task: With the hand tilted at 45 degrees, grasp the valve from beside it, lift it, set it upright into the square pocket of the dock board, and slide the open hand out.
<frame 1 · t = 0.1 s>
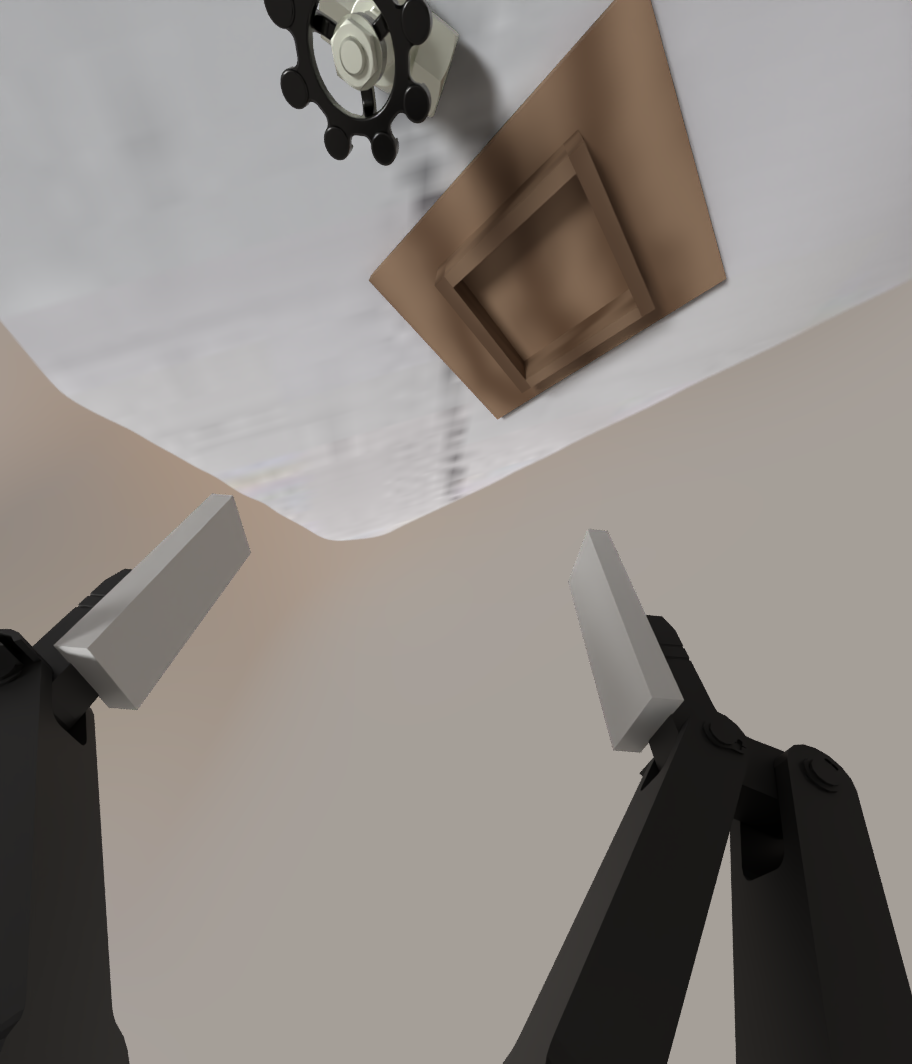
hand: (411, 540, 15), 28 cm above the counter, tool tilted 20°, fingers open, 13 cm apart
dock board: (542, 274, 32), on the counter
valve: (396, 31, 22), on the counter
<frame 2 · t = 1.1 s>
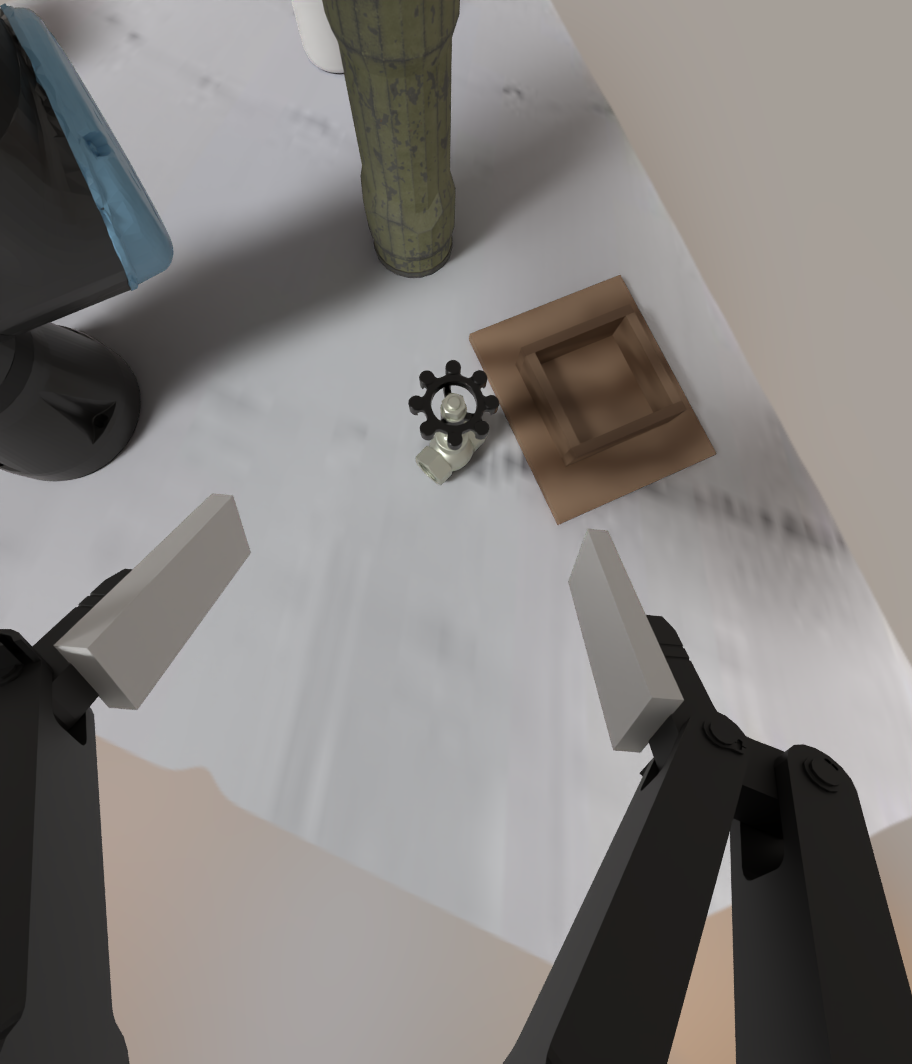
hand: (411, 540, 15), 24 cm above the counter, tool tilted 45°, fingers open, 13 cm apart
dock board: (588, 397, 41), on the counter
valve: (450, 456, 40), on the counter
thermos: (412, 244, 43), on the counter
pill bottle: (339, 50, 46), on the counter
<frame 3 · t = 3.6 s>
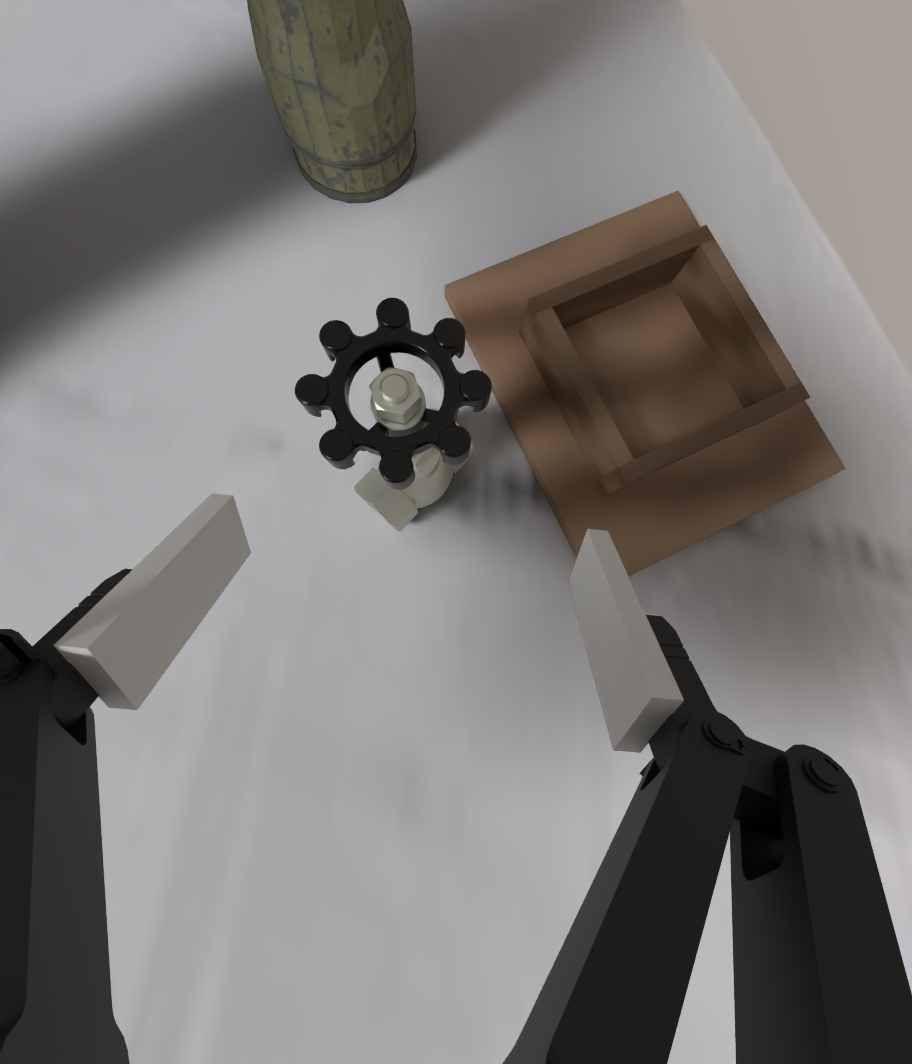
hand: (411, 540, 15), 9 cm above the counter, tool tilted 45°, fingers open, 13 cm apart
dock board: (634, 383, 26), on the counter
valve: (418, 481, 25), on the counter
thermos: (356, 153, 28), on the counter
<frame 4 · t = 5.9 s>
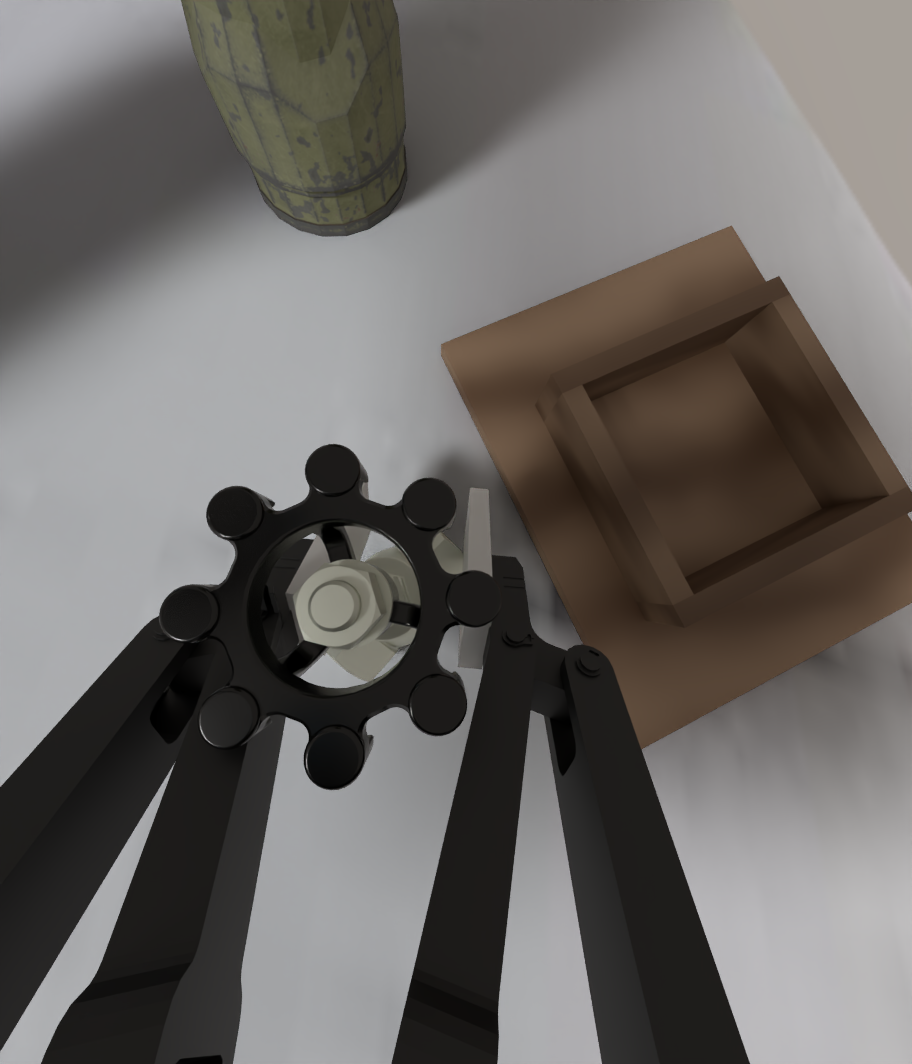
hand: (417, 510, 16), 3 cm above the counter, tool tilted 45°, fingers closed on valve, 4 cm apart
dock board: (679, 467, 21), on the counter
valve: (402, 595, 19), on the counter, touching gripper
thermos: (332, 174, 23), on the counter
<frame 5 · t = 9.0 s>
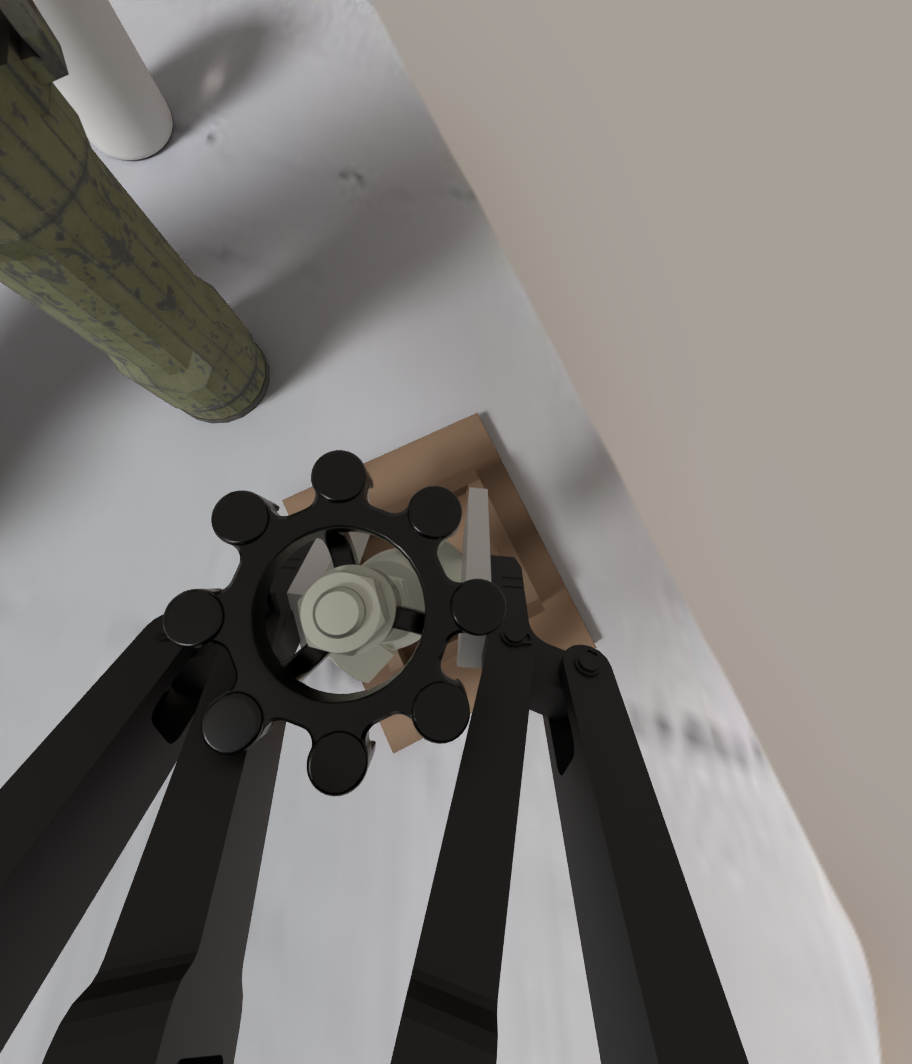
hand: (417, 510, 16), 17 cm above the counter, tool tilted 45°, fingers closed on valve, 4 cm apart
dock board: (437, 573, 33), on the counter
valve: (401, 596, 20), point 13 cm above the counter, touching gripper
thermos: (220, 378, 34), on the counter
pill bottle: (135, 130, 37), on the counter
when the fingers open (5 cm above the counter, at t = 12.2 s): valve stays where it is, resting on dock board.
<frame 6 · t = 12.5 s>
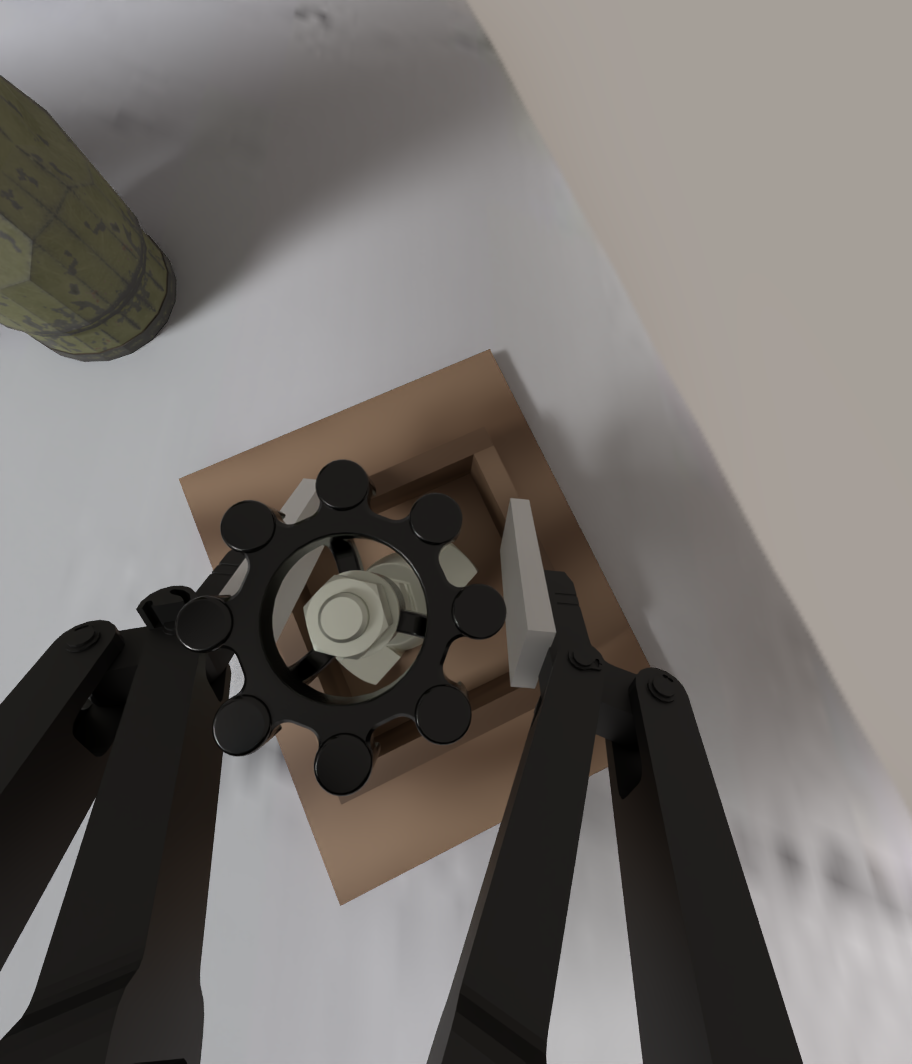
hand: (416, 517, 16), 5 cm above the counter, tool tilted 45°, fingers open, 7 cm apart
dock board: (423, 599, 21), on the counter
valve: (407, 598, 20), point 1 cm above the counter, touching dock board
thermos: (103, 296, 23), on the counter
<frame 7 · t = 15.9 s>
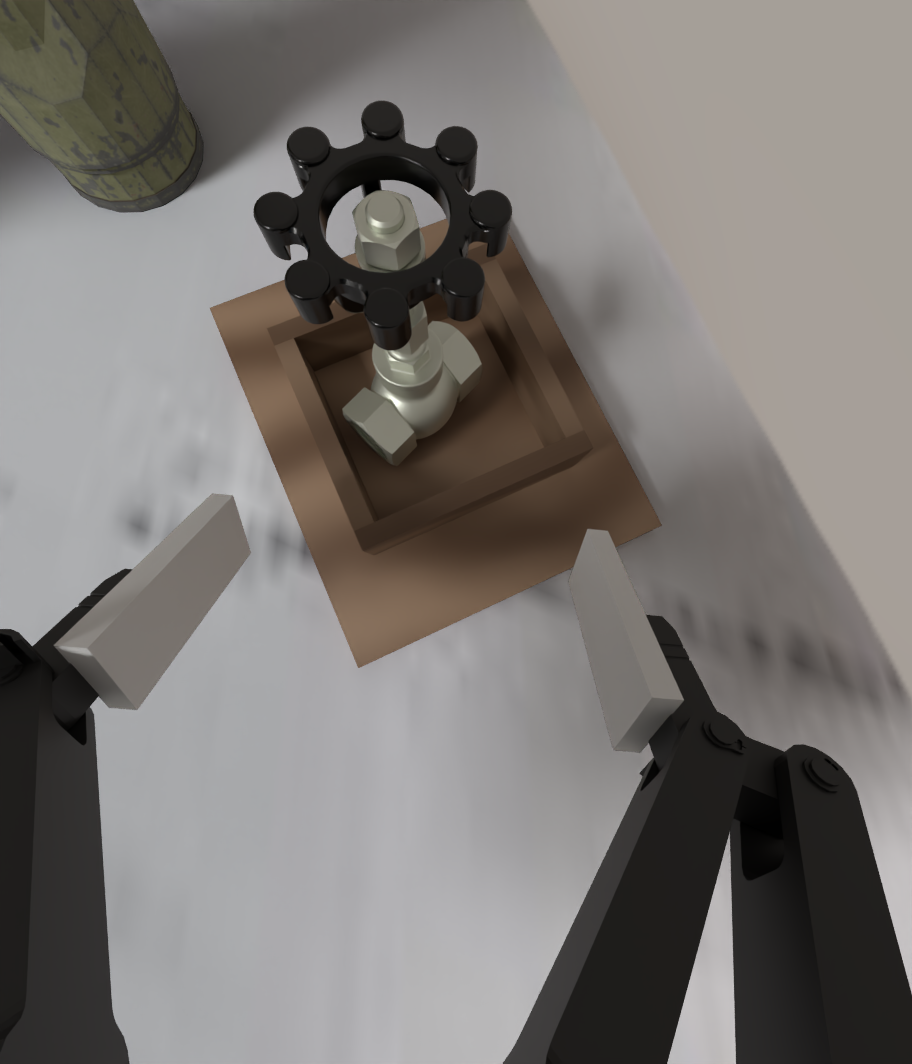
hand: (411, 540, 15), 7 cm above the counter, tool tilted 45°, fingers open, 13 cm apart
dock board: (431, 421, 23), on the counter
valve: (417, 414, 22), point 1 cm above the counter, touching dock board
thermos: (135, 156, 25), on the counter
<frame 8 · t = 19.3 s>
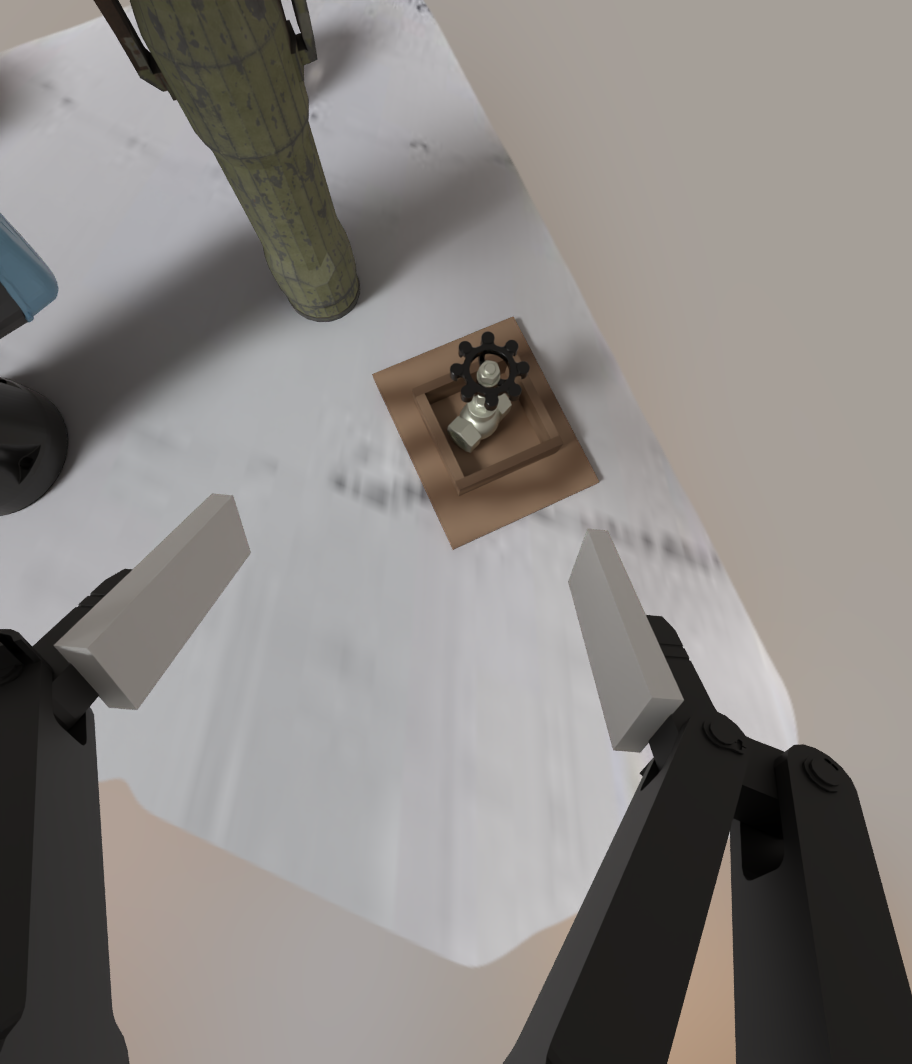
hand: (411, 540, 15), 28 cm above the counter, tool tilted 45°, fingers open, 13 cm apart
dock board: (483, 430, 44), on the counter
valve: (477, 427, 44), point 1 cm above the counter, touching dock board
thermos: (323, 290, 46), on the counter
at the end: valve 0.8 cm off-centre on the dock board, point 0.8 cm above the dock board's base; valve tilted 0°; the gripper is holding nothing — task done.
